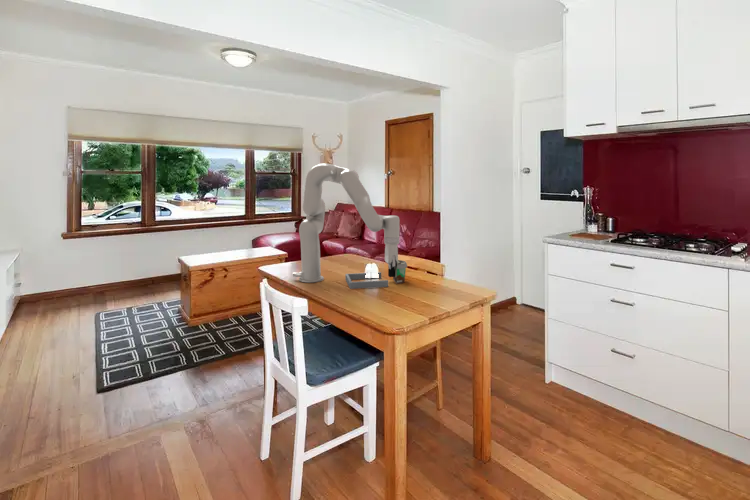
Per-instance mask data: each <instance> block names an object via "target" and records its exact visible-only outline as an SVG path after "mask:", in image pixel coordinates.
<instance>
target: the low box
mask: <svg viewBox="0 0 750 500" xmlns="http://www.w3.org/2000/svg"><path fill="white" fill-rule="evenodd" d="M366 273H367V272H360V273H359V272H358V273H357V272H355V273H345V276H344V277H345V282H346V283H347V286H348V287H349V289H352V290H353V289H355V290H356V289H370V288H371V289H373V288H388V287H389V280H388V279H387V280H386V279H383V280H367V281H366V279H365V275H366ZM378 274H379V278H378V279H382V271H381V272H380V271H379V272H378ZM353 280H354V281H353ZM355 280H356V281H355ZM357 280H359V281H357ZM360 280H364V281H360Z"/></svg>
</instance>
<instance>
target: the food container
mask: <svg viewBox="0 0 750 500" xmlns="http://www.w3.org/2000/svg"><path fill="white" fill-rule="evenodd" d="M407 268H408V263H407V262H406V260H401V259H398V263H397V264H396V263H395V277H392V279H393V281H394V282H395V284H396V285H400V284H401V285H402V284H404V283H405V282H406V270H407Z"/></svg>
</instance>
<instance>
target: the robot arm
mask: <svg viewBox="0 0 750 500" xmlns="http://www.w3.org/2000/svg"><path fill="white" fill-rule="evenodd" d="M356 171H357V170H355V169H351V168H347V167H341V166H339V165H335V164H331V163H323V162H322V163H319V164H317V165H314V166H313V167H311V168H310V169H309V171H308V172H307V173H306V176H305V184H304V192H303V203H302V211H303V213H304V214H306V219H304V220H302V221H301V223H300V224H299V228H298V233H299V240H300V258H301V261H300V262H301V271H299V272H292V277H295V278H298V281H299V282H300V283H301V282H302V283H306V284H307V283H318V282H322V281H324V279H325V278H324V276H323V275H321V273H322V272H321V245H320V243H321V242H320V235H319V234H321V232H322V231H323V229H324V224H325V223H324V222H325V216H326V215H325V214H326V204H325V201H324V199H323V198H322V193H323V183H324V182H328V181H329V182H332V183H336V184H340V185H342V187H343V189H344V190H345V192H346V193H347V195H348V197H350V199H351V202H352V203H353V205H354V206H355V208H356V210H357V213H358V214H359V216H360V218H361V219H362V220H363V222H364V224H365V225H366V226H367V229H368V230H369V231H371V232H375V233H377V232H380V231H381V230H383V233H384V236H383V238H384V240H383V243H384V244H385V247H384V261H385V263H386V264H387V266H388V268H387V269H388V270H387V271H388V273H387V274H388V278H393V277H395V263H396V264H397V263H398V260H399V253H398V252H399V248H398V245H399V244H400V222H401V221H400V217H399V216H398V215H382V214H378V213H377V211H376V209H375V208H374V206H373V203H372V202H371V198H370V195H369V193H368V191H367V189H366V188H365V186H364V185H363V183H362V182H361V180H360V178H359V174H358V172H356Z"/></svg>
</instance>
